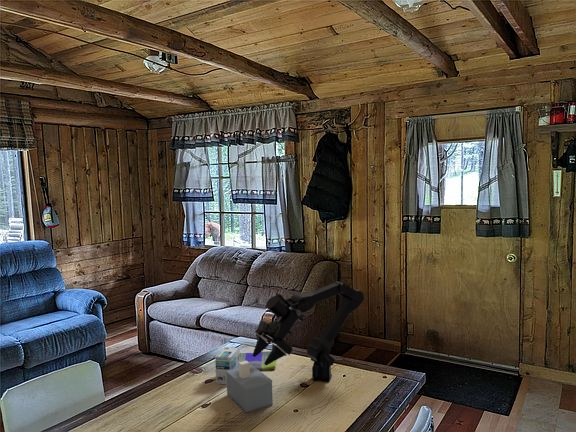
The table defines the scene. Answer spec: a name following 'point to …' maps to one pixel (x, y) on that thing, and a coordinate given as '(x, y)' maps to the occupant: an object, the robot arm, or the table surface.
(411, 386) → the table surface
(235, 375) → the carton lid
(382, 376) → the table surface
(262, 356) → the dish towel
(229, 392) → the carton
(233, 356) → the light bulb box
